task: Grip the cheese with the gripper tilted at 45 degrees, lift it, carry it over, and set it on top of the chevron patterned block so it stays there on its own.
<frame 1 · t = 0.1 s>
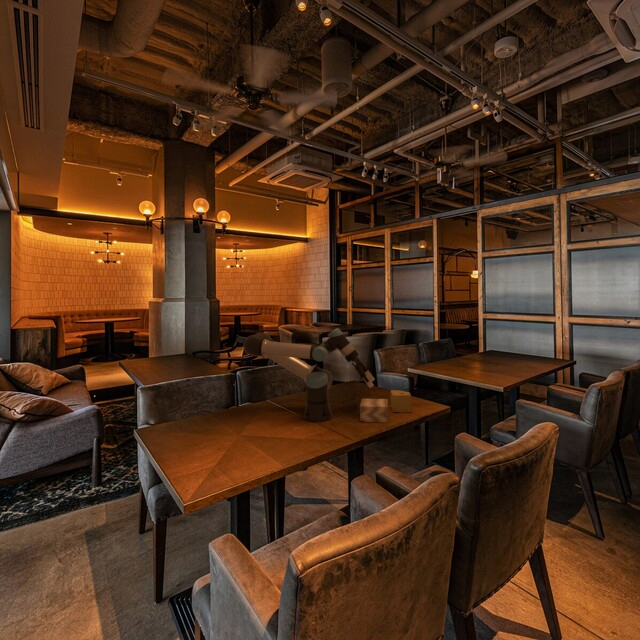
hand: (372, 383, 208), 15 cm above the table, tool tilted 35°, fingers open, 13 cm apart
chevron patterned block: (374, 417, 198), on the table
cheese: (400, 410, 209), on the table
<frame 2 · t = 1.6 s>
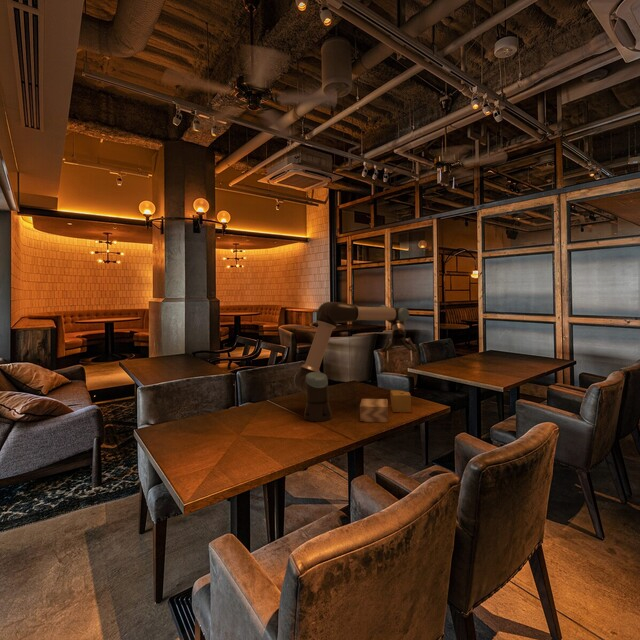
hand: (399, 361, 218), 25 cm above the table, tool tilted 45°, fingers open, 13 cm apart
nothing on the table moved.
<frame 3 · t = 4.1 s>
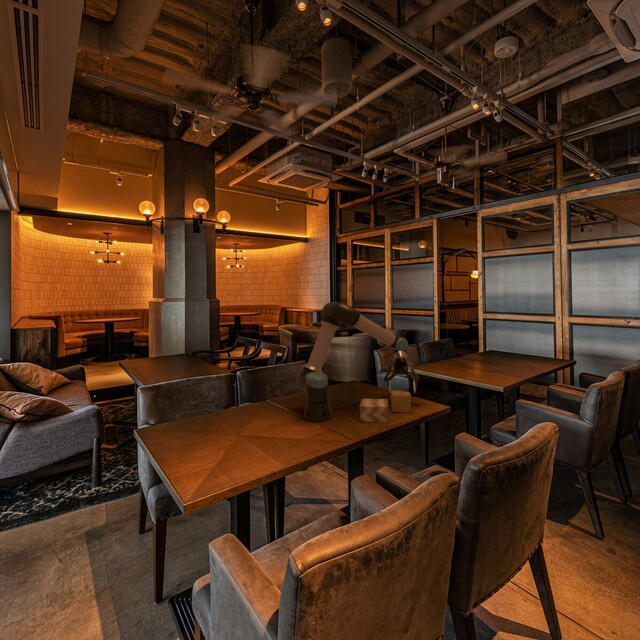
hand: (402, 391, 212), 9 cm above the table, tool tilted 45°, fingers open, 13 cm apart
cheese: (400, 410, 208), on the table, touching gripper
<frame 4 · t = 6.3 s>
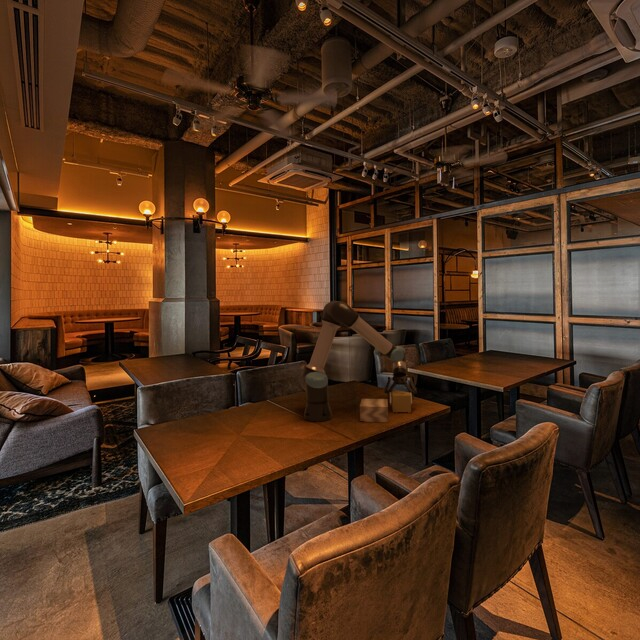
hand: (400, 404, 205), 4 cm above the table, tool tilted 45°, fingers closed on cheese, 10 cm apart
cheese: (401, 410, 208), on the table, touching gripper
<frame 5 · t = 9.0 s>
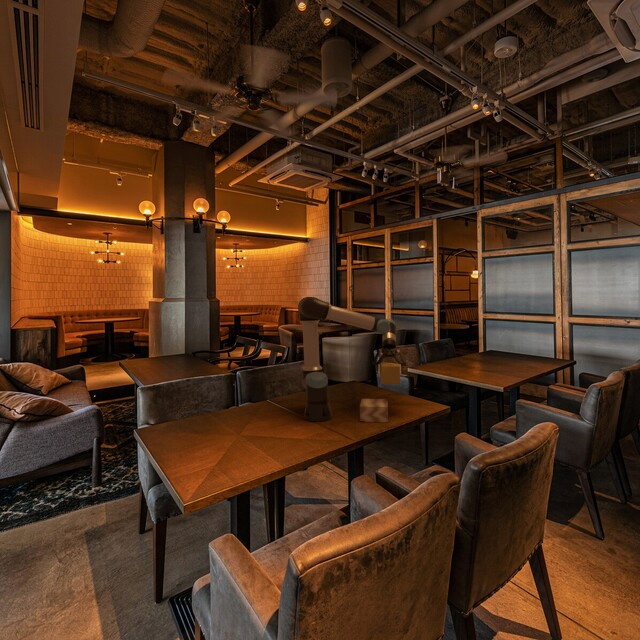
hand: (389, 375, 199), 21 cm above the table, tool tilted 45°, fingers closed on cheese, 10 cm apart
cheese: (389, 382, 201), point 17 cm above the table, touching gripper
when the fingers open (13 cm above the table, at t = 12.0 s): cheese drops 1 cm, resting on chevron patterned block.
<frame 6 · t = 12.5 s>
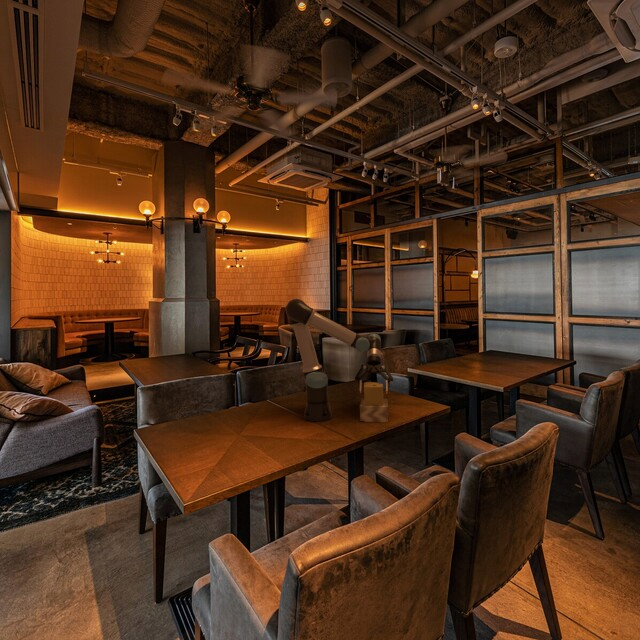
hand: (373, 392, 194), 14 cm above the table, tool tilted 45°, fingers open, 13 cm apart
cheese: (373, 403, 196), point 8 cm above the table, touching chevron patterned block
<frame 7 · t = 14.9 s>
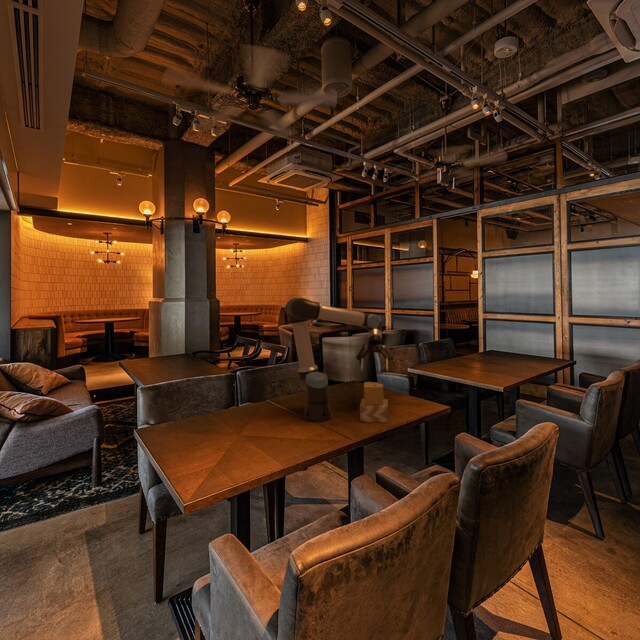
hand: (374, 369, 203), 24 cm above the table, tool tilted 45°, fingers open, 13 cm apart
nothing on the table moved.
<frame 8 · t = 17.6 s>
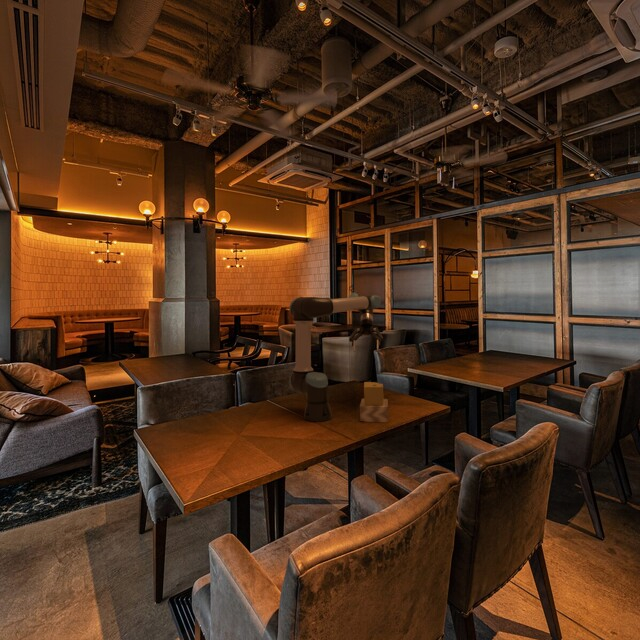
hand: (365, 350, 216), 33 cm above the table, tool tilted 45°, fingers open, 13 cm apart
nothing on the table moved.
at the end: cheese inside the target area on the chevron patterned block (0.7 cm from its centre), point 7.8 cm above the chevron patterned block's base; cheese tilted 0°; the gripper is holding nothing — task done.
